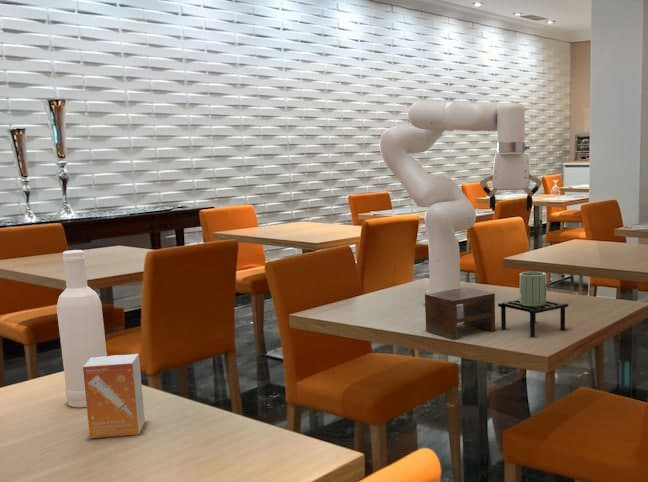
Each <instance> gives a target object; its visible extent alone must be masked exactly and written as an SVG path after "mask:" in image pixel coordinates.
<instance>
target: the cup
mask: <svg viewBox="0 0 648 482" xmlns="http://www.w3.org/2000/svg"><path fill="white" fill-rule="evenodd" d="M519 300H520V304H521V305H524V306H542V305H545V304H546V301H547V273H546V272H543V271H523V272H520V273H519Z"/></svg>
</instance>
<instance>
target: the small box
mask: <svg viewBox="0 0 648 482" xmlns="http://www.w3.org/2000/svg"><path fill="white" fill-rule="evenodd" d="M83 374H84V384H85V395H86V404H87V407H86V414H87V421H88V432H89V438H90V439H97V438H98V439H99V438H109V437H121V436H123V437H124V436H133V435H134V436H138V435H140V433H141V431H142V429H143V426H144V425H145V423H146V417H145V416H146V415H145V405H144V396H143V395H144V394H143V385H142V374H141V363H140V353H131V354H115V355H114V354H113V355H107V356H105V357H91V358H90V359H89V360H88V361H87V363H86V364H85V365H84V366H83Z"/></svg>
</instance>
